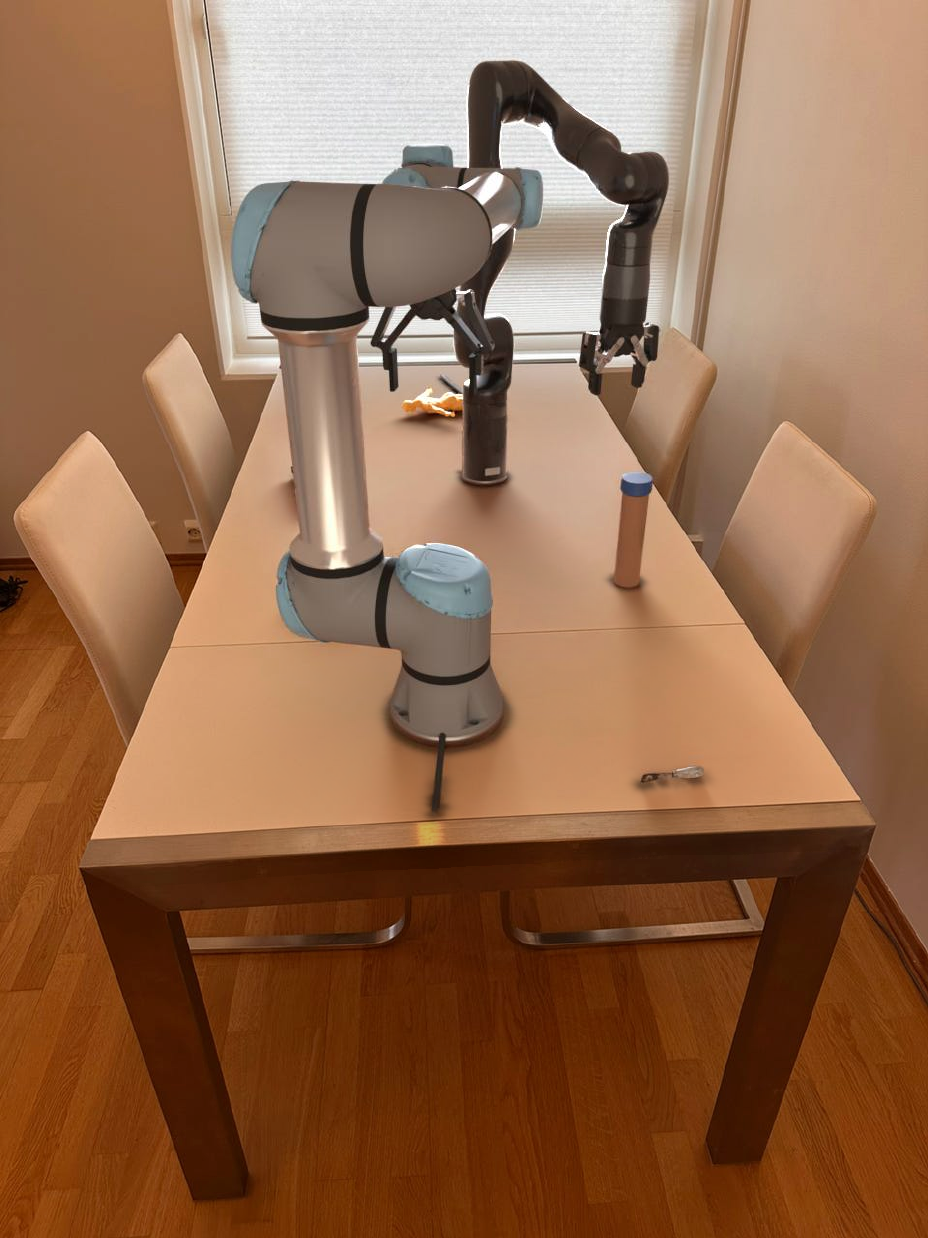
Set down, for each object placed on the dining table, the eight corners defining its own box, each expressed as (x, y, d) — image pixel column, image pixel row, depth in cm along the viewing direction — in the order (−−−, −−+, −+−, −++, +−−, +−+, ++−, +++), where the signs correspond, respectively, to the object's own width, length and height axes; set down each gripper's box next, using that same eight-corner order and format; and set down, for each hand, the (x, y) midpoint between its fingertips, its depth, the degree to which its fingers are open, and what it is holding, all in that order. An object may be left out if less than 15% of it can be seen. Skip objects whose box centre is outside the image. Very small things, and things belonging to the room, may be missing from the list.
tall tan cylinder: (644, 583, 151) (656, 481, 141) (625, 590, 149) (635, 487, 139) (627, 572, 154) (638, 472, 144) (608, 579, 152) (617, 478, 142)
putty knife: (703, 777, 109) (705, 767, 109) (642, 788, 108) (644, 777, 107) (700, 772, 110) (702, 762, 109) (639, 782, 109) (640, 771, 108)
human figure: (395, 413, 223) (394, 398, 221) (438, 390, 237) (438, 375, 235) (462, 429, 215) (462, 413, 213) (502, 404, 229) (503, 388, 227)
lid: (658, 492, 142) (659, 479, 141) (634, 499, 140) (635, 486, 138) (637, 481, 145) (638, 468, 144) (613, 488, 143) (615, 475, 142)
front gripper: (513, 255, 139) (510, 389, 150) (360, 249, 144) (368, 380, 155) (505, 264, 133) (502, 403, 144) (345, 258, 137) (355, 393, 149)
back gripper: (646, 282, 149) (636, 378, 158) (575, 291, 144) (568, 390, 153) (675, 291, 144) (662, 390, 152) (601, 301, 138) (593, 403, 147)
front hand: (433, 391), depth 149 cm, fingers open, 13 cm apart
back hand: (615, 390), depth 152 cm, fingers open, 8 cm apart
